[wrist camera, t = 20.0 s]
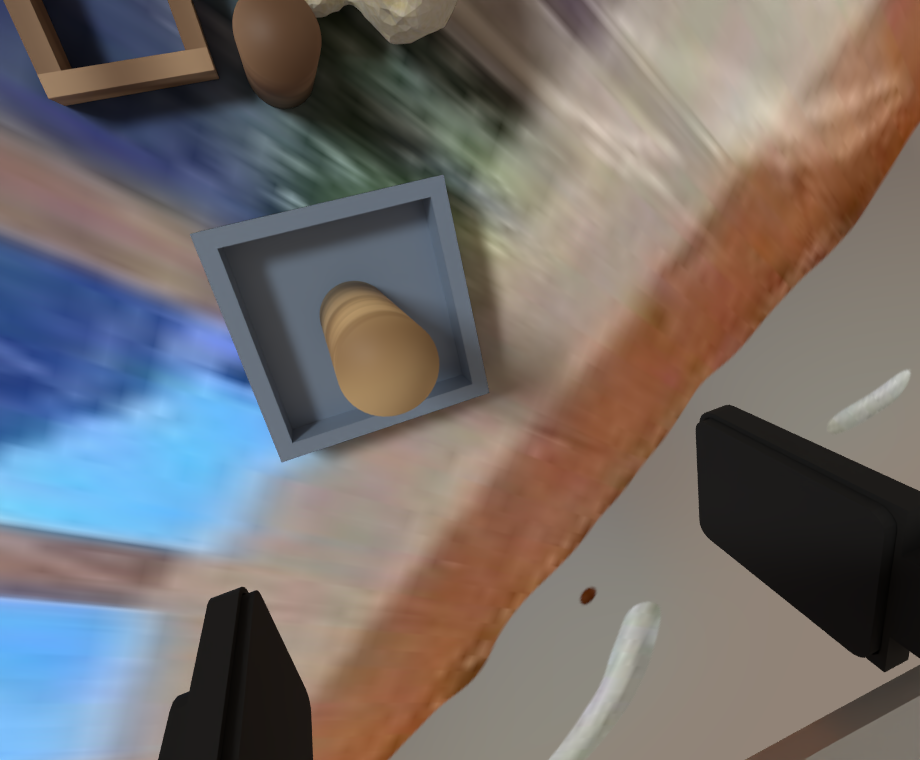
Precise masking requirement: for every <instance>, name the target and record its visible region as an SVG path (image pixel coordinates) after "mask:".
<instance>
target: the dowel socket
mask: <svg viewBox="0 0 920 760" xmlns="http://www.w3.org/2000/svg"><path fill="white" fill-rule="evenodd" d="M4 3H5V5H6V7H7V9H8V11H9V14H10V16H11V18H12V20H13V22H14V24H15V27H16V29H17V31H18V33H19V35H20V37H21V40H22V42H23V44H24V46H25V48H26V51H27V53H28V55H29V57H30V59H31V61H32V64H33V66H34V68H35V70H36V72H37V75H38V77H39V79H40V81H41V83H42V85H43V88H44V90H45V92H46V94H47V96H48V98H49V99H51V100H53V101H55V102H58V103H60V104H62V105H64V106H67V105H73V104H79V103H84V102H90V101H96V100H101V99H107V98H113V97H118V96H124V95H130V94H135V93H141V92H147V91H153V90H158V89H164V88H170V87H175V86H181V85H187V84H192V83H198V82H204V81H209V80H215V79H219V76H218V73H217V71H216V68H215V65H214V62H213V59H212V56H211V53H210V50H209V47H208V44H207V41H206V38H205V36H204V33H203V30H202V27H201V24H200V21H199V18H198V15H197V12H196V9H195V6H194V3H193V0H168V3H169V5H170V8H171V11H172V14H173V17H174V19H175V22H176V25H177V28H178V31H179V33H180V36H181V39H182V42H183V44H184V47H185V51H179V52H173V53H167V54H161V55H154V56H148V57H142V58H136V59H130V60H124V61H117V62H111V63H105V64H99V65H93V66H87V67H81V68H74V69H72V68H71V66H70V63H69V61H68V59H67V56H66V54H65V52H64V49H63V47H62V45H61V43H60V40H59V38H58V36H57V33H56V31H55V29H54V27H53V24H52V22H51V20H50V17H49V15H48V13H47V10H46V8H45V6H44V4H43V1H42V0H4Z"/></svg>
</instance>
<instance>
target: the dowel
mask: <svg viewBox="0 0 920 760" xmlns="http://www.w3.org/2000/svg"><path fill="white" fill-rule="evenodd" d="M320 323H321V326H322V330H323V333H324V337H325V340H326V343H327V347H328V350H329V353H330V357H331V360H332V364H333V367H334V370H335V374H336V377H337V380H338V384H339V386H340V389H341V391H342V392H343V394H344V396H345V397H346V398H347V400H348V401H349V402H350V403H351V404H352V405H353V406H355V407H356V408H358V409H359V410H361V411H363V412H365V413H368V414H371V415H375V416H382V417H387V416H396V415H400V414H403V413H406V412H408V411H410V410H412V409H414V408H415V407H417V406H418V405H420V404H421V403H422V402H423V401H424V400H425V399H426V398H427V397H428V395H429V394H430V393H431V391H432V390H433V388H434V386H435V383H436V381H437V378H438V373H439V356H438V351H437V348H436V346H435V344H434V341H433V340H432V338H431V337H430V335H429V334H428V333H427V332H426V331H425V330H424V329H423V328H422V327H420V326H419V325H418V324H417V323H416V322H415V321H414V320H412V319H411V318H410V317H409V316H408V315H407V314H406V313H404V312H403V311H402V310H401V309H400V308H399V307H398V306H396V305H395V304H394V303H393V302H392V301H391V300H389V299H388V298H387V297H386V296H385V295H384V294H383V293H381V292H380V291H379V290H378V289H377V288H376V287H374V286H372V285H370V284H368V283H366V282H362V281H347V282H344V283H341V284H339V285H337V286H335V287H334V288H332V289H331V290H330V291H329V292H328V293H327V294H326V296H325V297H324V299H323V301H322V304H321V307H320Z"/></svg>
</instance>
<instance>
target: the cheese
mask: <svg viewBox="0 0 920 760" xmlns="http://www.w3.org/2000/svg"><path fill="white" fill-rule="evenodd" d="M305 1H306V3H307V4H308V5H309V6H310V8H311V9H312V11H313V13H314V14H315V16H316V18H318V17H325V16H327V15H329V14H331V13H332V12H337V11H339V10H340V9H341V8H342V7H343V6H345V5H353V6H355V7H356V8H357V9H358V10H359V11H360V12H362V14H363V15H364V17H365V18H366V19H367V20H368V21H369V22H370V23H371V24H372V25H373V26H374V27H375V28H376V29H377V30H378V31H379V32H380V33H381V34H382V36H383V37H384V38H385V39H386V40H387V41H388V42H389V43H391V44H407V43H412V42H414V41H416V40H418V39H420V38H422V37H424V36H426V35H427V34H430V33H433V32H435V31H437V30H439V29H441V28H444V27H445V25H446V23H447V22H448V20H449V18H450V16H451V14H452V12H453V10H454V8H455V6H456V3H457V0H305Z"/></svg>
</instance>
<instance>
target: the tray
mask: <svg viewBox="0 0 920 760" xmlns="http://www.w3.org/2000/svg"><path fill="white" fill-rule="evenodd" d="M190 236H191V238H192V241H193V243H194V246H195V248H196V251H197V253H198V256H199V258H200V260H201V263H202V265H203V268H204V270H205V273H206V275H207V278H208V280H209V283H210V285H211V288H212V290H213V293H214V295H215V298H216V300H217V303H218V305H219V308H220V310H221V313H222V315H223V318H224V320H225V323H226V325H227V328H228V330H229V333H230V335H231V338H232V340H233V343H234V345H235V348H236V350H237V352H238V355H239V357H240V360H241V362H242V365H243V367H244V370H245V372H246V375H247V377H248V380H249V382H250V385H251V387H252V390H253V392H254V395H255V397H256V400H257V402H258V405H259V407H260V410H261V412H262V415H263V417H264V420H265V422H266V425H267V427H268V430H269V432H270V435H271V437H272V440H273V442H274V444H275V447H276V449H277V452H278V454H279V457H280V459H281V462H284V461H287V460H290V459H293V458H296V457H299V456H302V455H305V454H308V453H311V452H314V451H317V450H320V449H323V448H326V447H329V446H332V445H335V444H338V443H341V442H344V441H347V440H350V439H353V438H356V437H359V436H362V435H365V434H368V433H371V432H374V431H377V430H380V429H383V428H386V427H389V426H392V425H395V424H398V423H401V422H404V421H407V420H410V419H413V418H416V417H419V416H422V415H425V414H428V413H431V412H434V411H437V410H440V409H443V408H446V407H449V406H452V405H455V404H458V403H461V402H464V401H466V400H469V399H472V398H475V397H478V396H481V395H484V394H487V393H489V389H488V384H487V379H486V375H485V370H484V365H483V360H482V356H481V351H480V346H479V341H478V337H477V332H476V327H475V322H474V318H473V313H472V308H471V304H470V299H469V294H468V289H467V285H466V280H465V275H464V270H463V266H462V261H461V256H460V251H459V247H458V242H457V237H456V232H455V228H454V223H453V218H452V214H451V209H450V204H449V199H448V195H447V190H446V185H445V180H444V176H443V175H440V176H435V177H430V178H426V179H422V180H417V181H413V182H409V183H405V184H400V185H396V186H392V187H388V188H383V189H379V190H375V191H370V192H366V193H362V194H358V195H353V196H349V197H345V198H341V199H336V200H332V201H328V202H323V203H319V204H315V205H311V206H306V207H302V208H298V209H294V210H289V211H285V212H281V213H276V214H272V215H268V216H264V217H259V218H255V219H251V220H247V221H242V222H238V223H234V224H230V225H225V226H221V227H217V228H212V229H208V230H204V231H200V232H196V233H192V234H190ZM347 281H362V282H366V283H368V284H370V285H372V286H374V287H376V288H377V289H378V290H379V291H380V292H381V293H383V294H384V295H385V296H386V297H387V298H388V299H389V300H391V301H392V302H393V303H394V304H395V305H396V306H398V307H399V308H400V309H401V310H402V311H403V312H404V313H406V314H407V315H408V316H409V317H410V318H411V319H412V320H414V321H415V322H416V323H417V324H418V325H419V326H420V327H422V328H423V329H424V330H425V331H426V332H427V333H428V334H429V335H430V337H431V338H432V340H433V341H434V344H435V346H436V348H437V351H438V356H439V373H438V378H437V381H436V383H435V386H434V388H433V390H432V391H431V393H430V394H429V395H428V397H427V398H426V399H425V400H424V401H423V402H422V403H421V404H420V405H418V406H417V407H415V408H414V409H412V410H410V411H408V412H406V413H403V414H400V415H396V416H387V417H382V416H375V415H371V414H368V413H365V412H363V411H361V410H359V409H358V408H356V407H355V406H353V405H352V404H351V403H350V402H349V401H348V400H347V398H346V397H345V396H344V394H343V392H342V391H341V389H340V386H339V384H338V380H337V377H336V374H335V370H334V367H333V364H332V360H331V357H330V353H329V350H328V347H327V343H326V340H325V337H324V333H323V330H322V326H321V323H320V307H321V304H322V301H323V299H324V297H325V296H326V294H327V293H328V292H329V291H330V290H331V289H332V288H334V287H335V286H337V285H339V284H341V283H344V282H347Z"/></svg>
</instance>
